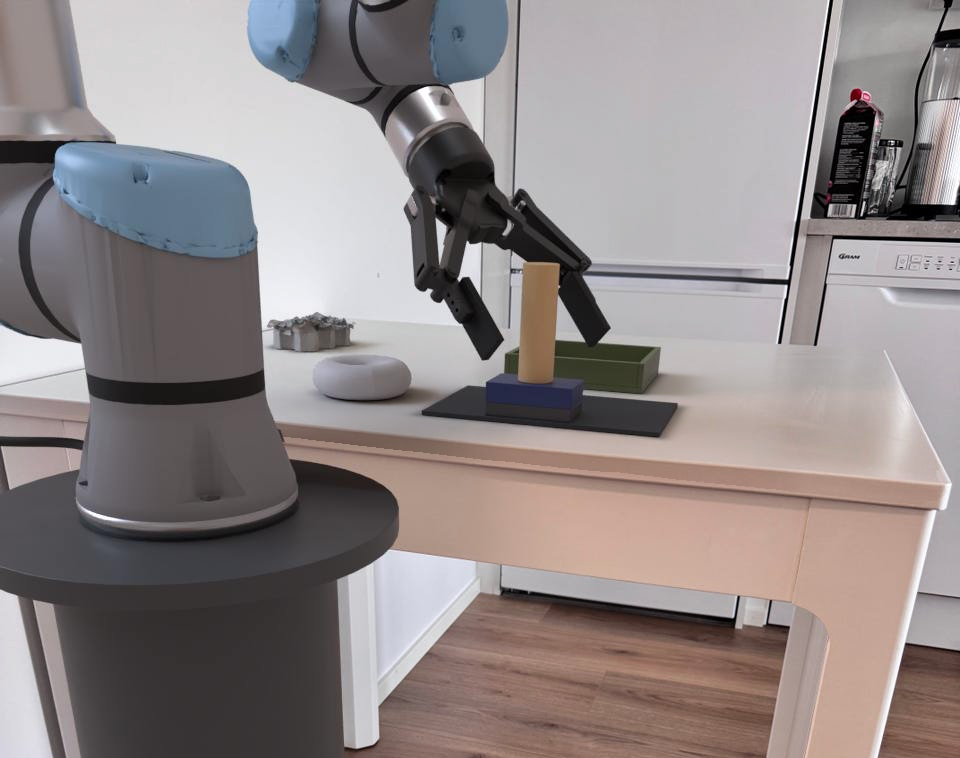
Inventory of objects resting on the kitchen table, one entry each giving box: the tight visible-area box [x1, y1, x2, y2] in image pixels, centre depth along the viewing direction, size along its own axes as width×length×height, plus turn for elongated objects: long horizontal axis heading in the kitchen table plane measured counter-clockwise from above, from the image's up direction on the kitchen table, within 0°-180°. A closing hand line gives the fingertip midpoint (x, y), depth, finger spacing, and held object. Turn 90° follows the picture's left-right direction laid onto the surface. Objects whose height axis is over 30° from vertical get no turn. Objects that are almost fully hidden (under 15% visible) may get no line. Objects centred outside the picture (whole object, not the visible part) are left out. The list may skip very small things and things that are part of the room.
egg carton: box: [266, 311, 357, 353], centre depth 124 cm, size 11×8×4 cm
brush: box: [485, 261, 584, 423], centre depth 85 cm, size 8×5×13 cm, turn 73°
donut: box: [311, 354, 413, 401], centre depth 96 cm, size 10×4×10 cm
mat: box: [421, 385, 679, 438], centre depth 91 cm, size 22×14×1 cm, turn 73°
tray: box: [503, 339, 662, 395], centre depth 107 cm, size 15×13×3 cm
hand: (549, 344), depth 84 cm, fingers open, 13 cm apart
